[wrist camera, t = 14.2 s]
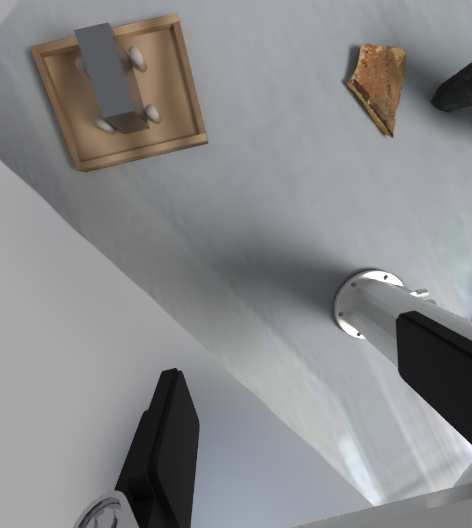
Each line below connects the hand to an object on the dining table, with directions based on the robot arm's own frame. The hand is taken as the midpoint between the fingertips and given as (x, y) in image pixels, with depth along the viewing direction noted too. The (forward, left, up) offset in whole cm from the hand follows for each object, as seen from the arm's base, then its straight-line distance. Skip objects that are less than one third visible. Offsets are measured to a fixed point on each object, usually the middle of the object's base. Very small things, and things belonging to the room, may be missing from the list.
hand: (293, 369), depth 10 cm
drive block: (+10, -23, -27) cm, 37 cm away
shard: (-25, -18, -29) cm, 42 cm away
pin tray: (+10, -23, -28) cm, 38 cm away
